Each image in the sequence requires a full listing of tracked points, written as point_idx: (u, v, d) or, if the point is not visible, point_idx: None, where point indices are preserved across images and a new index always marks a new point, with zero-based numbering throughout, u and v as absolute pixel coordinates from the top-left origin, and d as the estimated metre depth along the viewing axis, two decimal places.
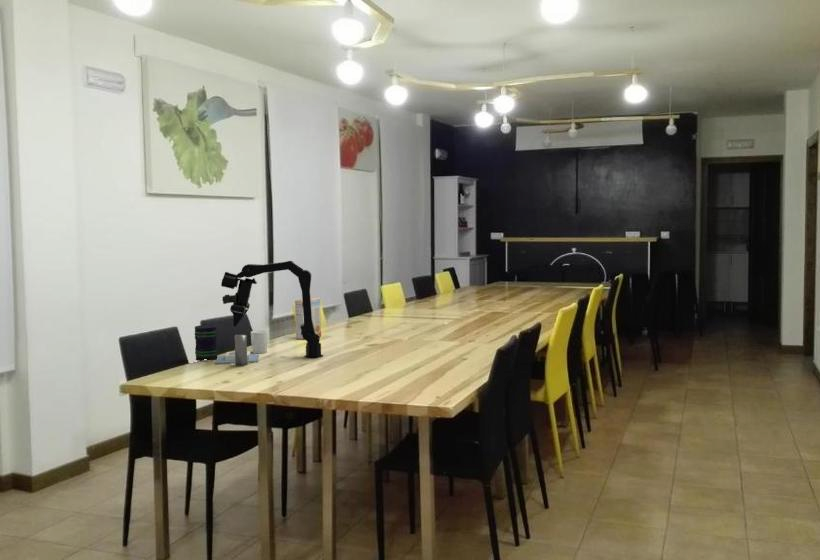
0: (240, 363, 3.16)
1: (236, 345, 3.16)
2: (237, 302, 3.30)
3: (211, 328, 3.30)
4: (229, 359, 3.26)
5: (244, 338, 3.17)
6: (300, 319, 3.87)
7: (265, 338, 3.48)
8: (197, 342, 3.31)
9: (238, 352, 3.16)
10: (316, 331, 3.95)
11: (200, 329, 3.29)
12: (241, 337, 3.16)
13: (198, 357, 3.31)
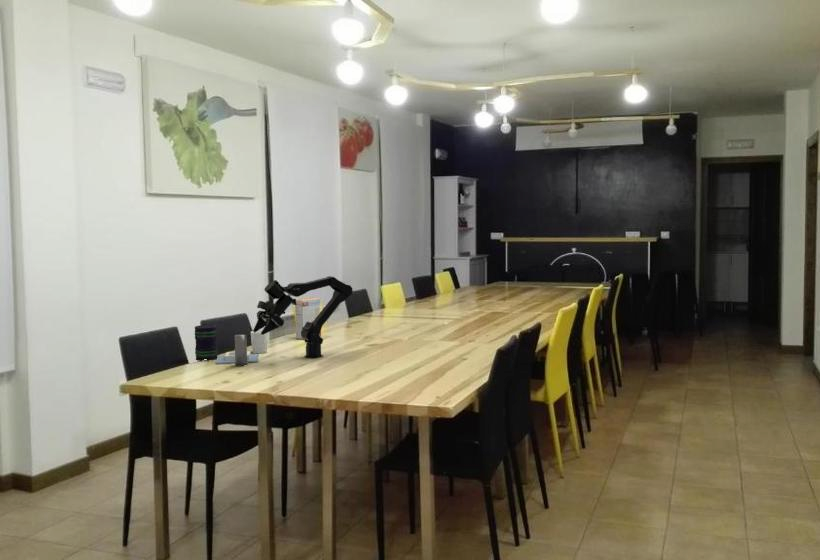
0: (240, 363, 3.16)
1: (236, 345, 3.16)
2: (273, 313, 3.23)
3: (211, 328, 3.30)
4: (229, 359, 3.26)
5: (244, 338, 3.17)
6: (300, 319, 3.87)
7: (265, 338, 3.48)
8: (197, 342, 3.31)
9: (238, 352, 3.16)
10: None
11: (200, 329, 3.29)
12: (241, 337, 3.16)
13: (198, 357, 3.31)
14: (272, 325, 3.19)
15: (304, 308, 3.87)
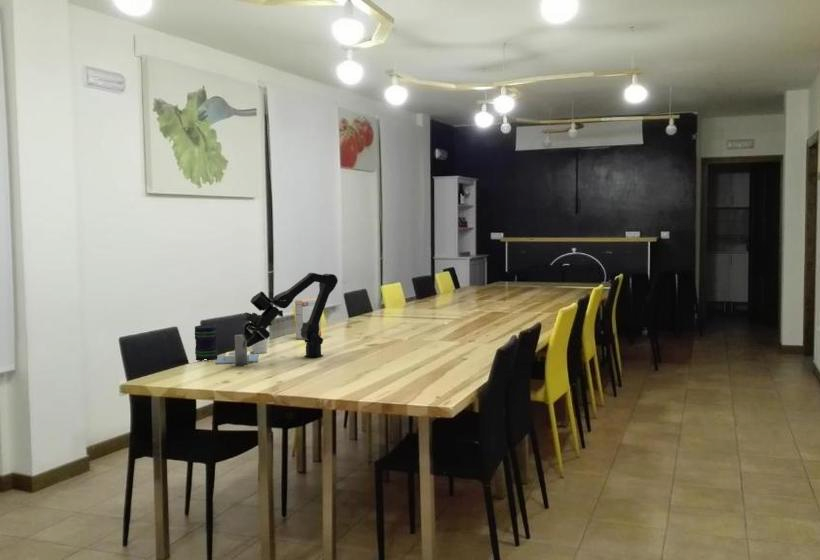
0: (240, 363, 3.16)
1: (236, 345, 3.16)
2: (259, 325, 3.20)
3: (211, 328, 3.30)
4: (229, 359, 3.26)
5: (244, 338, 3.17)
6: (300, 319, 3.87)
7: None
8: (197, 342, 3.31)
9: (238, 352, 3.16)
10: None
11: (200, 329, 3.29)
12: (241, 337, 3.16)
13: (198, 357, 3.31)
14: (258, 337, 3.16)
15: (304, 308, 3.87)
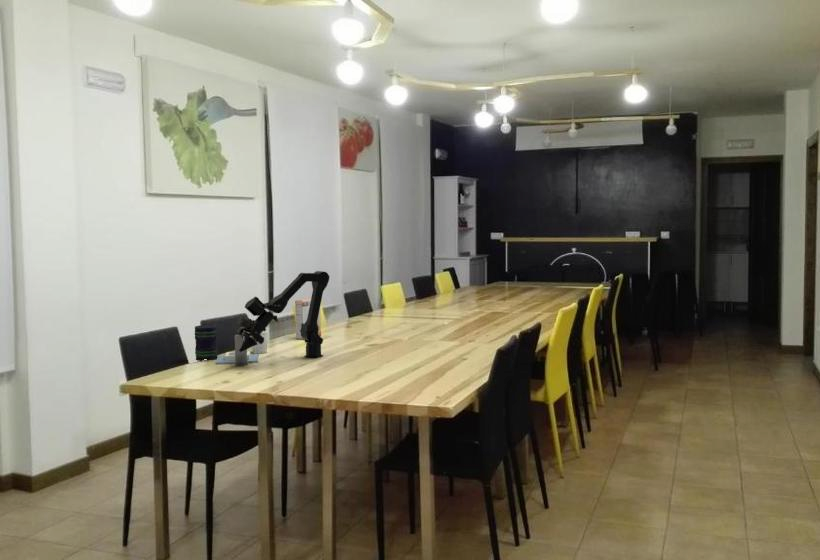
0: (240, 363, 3.16)
1: (236, 345, 3.16)
2: (253, 330, 3.18)
3: (210, 328, 3.30)
4: (229, 359, 3.26)
5: (244, 338, 3.17)
6: (300, 319, 3.87)
7: (265, 338, 3.48)
8: (197, 342, 3.31)
9: (238, 352, 3.16)
10: None
11: (200, 329, 3.29)
12: (241, 337, 3.16)
13: (198, 357, 3.31)
14: (251, 342, 3.17)
15: (304, 308, 3.87)
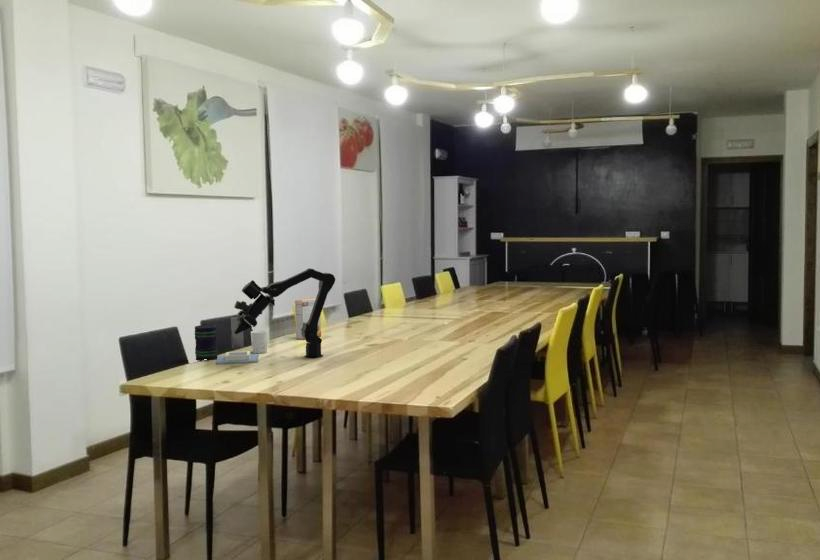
0: (236, 345, 3.22)
1: (232, 327, 3.22)
2: (249, 313, 3.23)
3: (211, 328, 3.30)
4: (229, 359, 3.26)
5: (239, 321, 3.22)
6: (300, 319, 3.87)
7: (265, 338, 3.48)
8: (197, 342, 3.31)
9: (233, 335, 3.22)
10: None
11: (200, 329, 3.29)
12: (236, 320, 3.21)
13: (198, 357, 3.31)
14: (245, 325, 3.21)
15: (304, 308, 3.87)
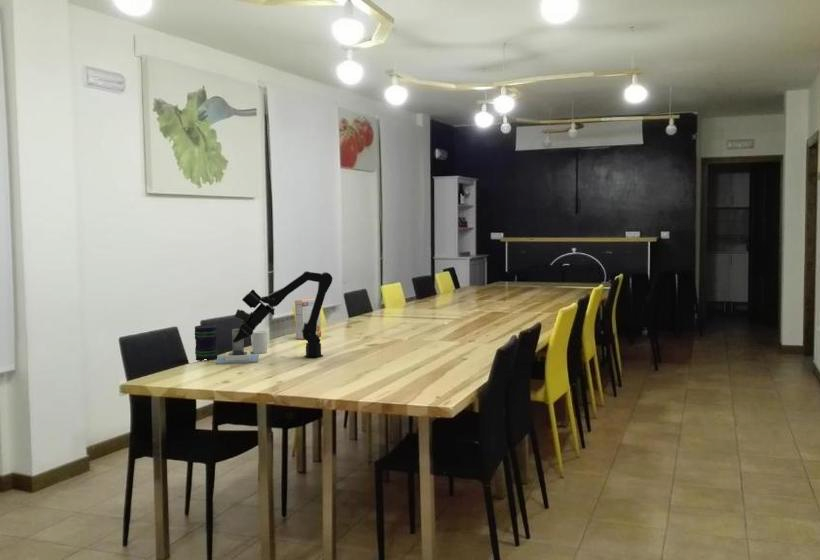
0: None
1: (232, 338, 3.30)
2: (248, 322, 3.29)
3: (211, 328, 3.30)
4: (229, 359, 3.26)
5: None
6: (300, 319, 3.87)
7: (265, 338, 3.48)
8: (197, 342, 3.31)
9: (233, 345, 3.29)
10: (316, 331, 3.95)
11: (200, 329, 3.29)
12: (236, 331, 3.28)
13: (198, 357, 3.31)
14: (243, 333, 3.27)
15: (304, 308, 3.87)
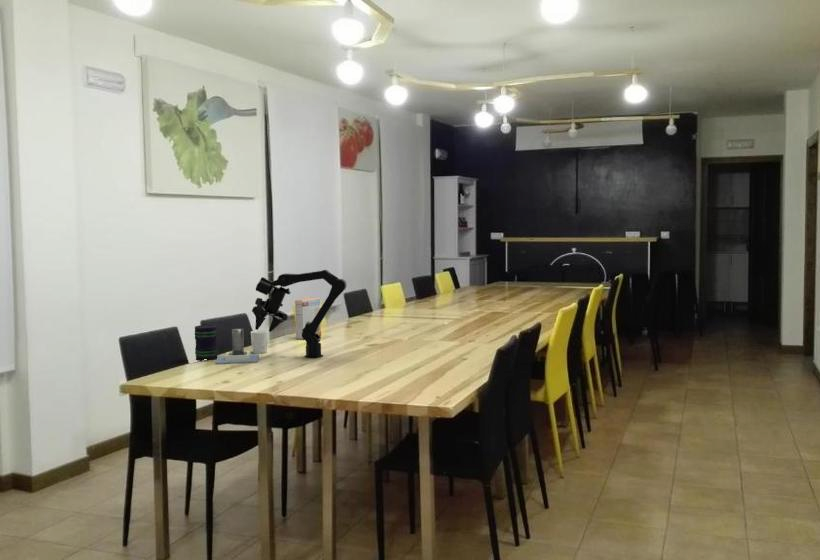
0: None
1: (232, 338, 3.30)
2: (266, 307, 3.35)
3: (211, 328, 3.30)
4: (229, 359, 3.26)
5: (239, 332, 3.29)
6: (300, 319, 3.87)
7: (265, 338, 3.48)
8: (197, 342, 3.31)
9: (233, 345, 3.29)
10: None
11: (200, 329, 3.29)
12: (236, 331, 3.28)
13: (198, 357, 3.31)
14: (260, 318, 3.31)
15: (304, 308, 3.87)
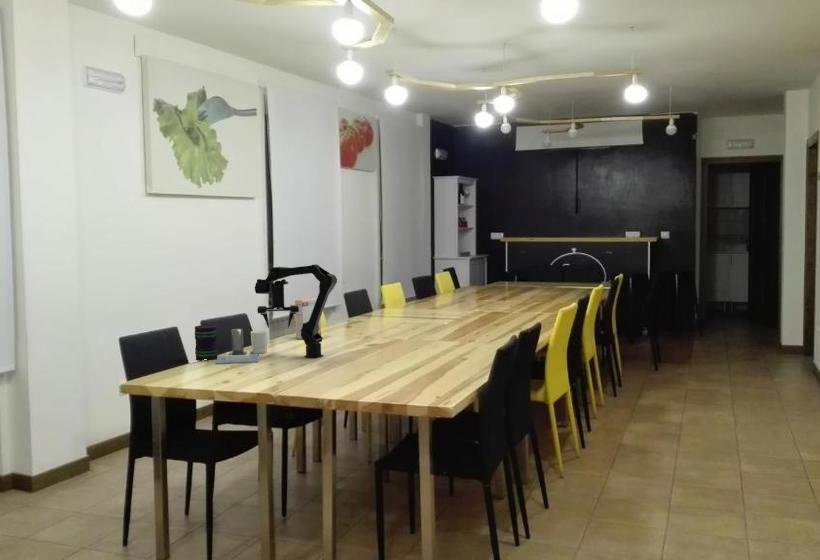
0: None
1: (232, 338, 3.30)
2: None
3: (211, 328, 3.30)
4: (229, 359, 3.26)
5: (239, 332, 3.29)
6: (300, 319, 3.87)
7: (265, 338, 3.48)
8: (197, 342, 3.31)
9: (233, 346, 3.29)
10: None
11: (200, 329, 3.29)
12: (235, 331, 3.28)
13: (198, 357, 3.31)
14: None
15: (304, 308, 3.87)
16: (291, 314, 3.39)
